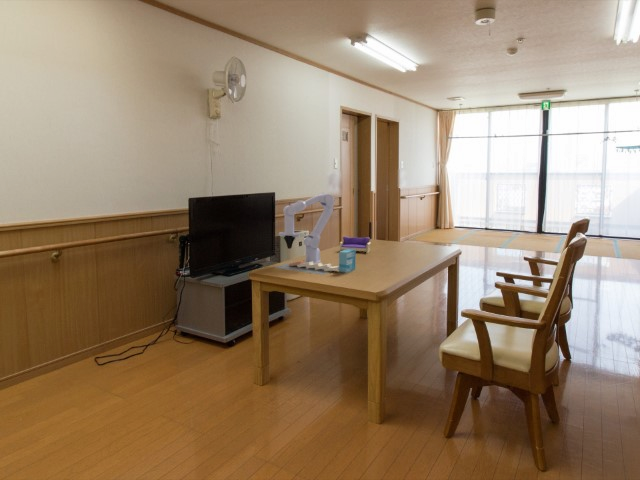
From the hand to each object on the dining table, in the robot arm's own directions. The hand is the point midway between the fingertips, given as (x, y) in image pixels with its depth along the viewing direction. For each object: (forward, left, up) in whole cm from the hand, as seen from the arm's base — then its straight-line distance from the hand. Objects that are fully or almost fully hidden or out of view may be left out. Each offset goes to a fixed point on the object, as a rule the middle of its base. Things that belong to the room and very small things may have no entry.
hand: (289, 248), depth 276 cm
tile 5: (+4, +28, -9) cm, 29 cm away
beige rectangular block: (+4, +10, -9) cm, 14 cm away
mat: (+6, +15, -10) cm, 19 cm away
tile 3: (+4, +16, -9) cm, 19 cm away
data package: (-2, +38, -10) cm, 40 cm away
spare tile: (+4, +4, -9) cm, 10 cm away
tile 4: (+4, +22, -9) cm, 24 cm away
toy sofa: (-60, +14, -10) cm, 63 cm away
